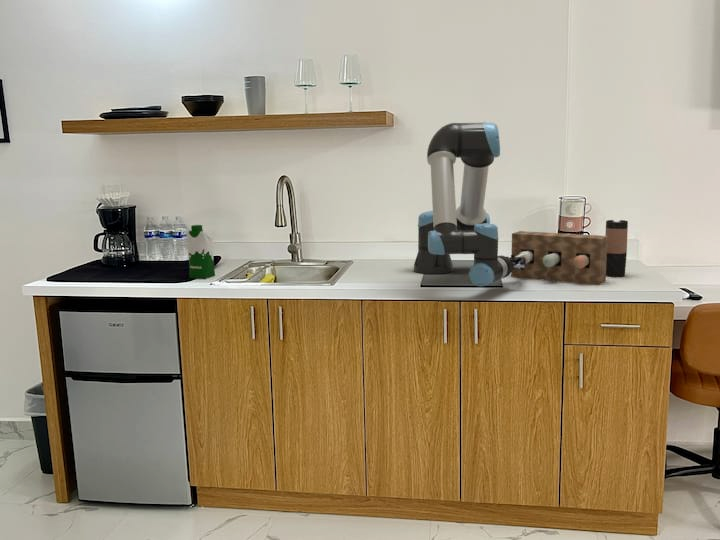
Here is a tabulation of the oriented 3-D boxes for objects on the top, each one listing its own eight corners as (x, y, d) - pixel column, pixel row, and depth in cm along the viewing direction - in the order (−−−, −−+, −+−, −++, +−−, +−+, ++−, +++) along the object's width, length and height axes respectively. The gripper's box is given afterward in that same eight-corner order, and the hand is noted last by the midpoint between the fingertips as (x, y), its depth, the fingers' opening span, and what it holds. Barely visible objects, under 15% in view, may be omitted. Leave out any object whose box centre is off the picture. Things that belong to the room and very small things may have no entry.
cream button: (518, 263, 266) (518, 251, 265) (525, 260, 271) (525, 248, 270) (529, 264, 263) (530, 252, 262) (536, 261, 269) (537, 249, 268)
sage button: (542, 266, 258) (542, 254, 257) (549, 263, 264) (549, 251, 263) (554, 267, 255) (555, 255, 255) (561, 264, 261) (561, 252, 260)
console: (511, 276, 271) (511, 233, 268) (519, 273, 278) (520, 231, 275) (599, 284, 254) (601, 238, 251) (605, 280, 260) (607, 235, 258)
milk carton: (186, 278, 280) (183, 226, 276) (198, 274, 288) (195, 223, 285) (206, 279, 277) (203, 226, 273) (218, 275, 285) (216, 223, 282)
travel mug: (614, 278, 265) (617, 222, 262) (599, 274, 272) (601, 220, 268) (630, 275, 269) (632, 221, 265) (614, 272, 275) (616, 219, 272)
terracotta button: (573, 267, 255) (573, 255, 254) (579, 264, 260) (579, 252, 260) (586, 268, 252) (586, 256, 252) (592, 265, 258) (592, 253, 257)
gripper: (479, 277, 248) (506, 266, 268) (516, 281, 241) (540, 269, 261) (479, 255, 247) (506, 246, 266) (516, 258, 240) (541, 248, 259)
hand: (523, 257), depth 263 cm, fingers closed
